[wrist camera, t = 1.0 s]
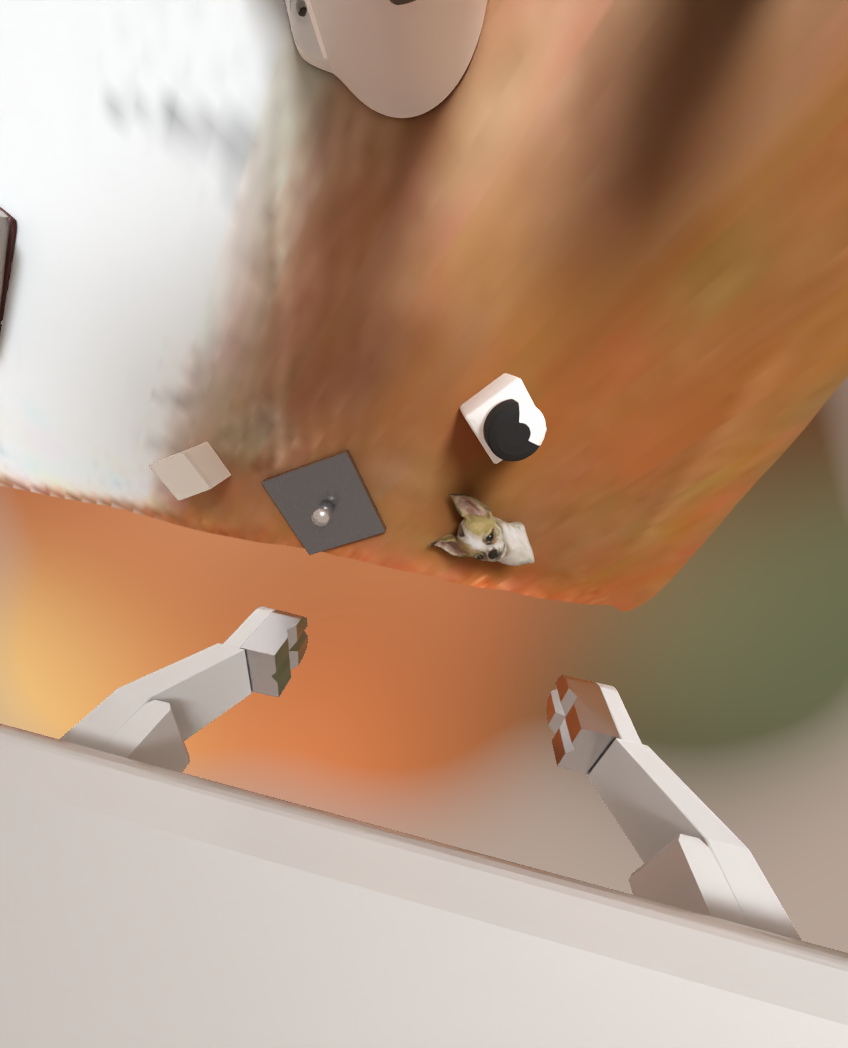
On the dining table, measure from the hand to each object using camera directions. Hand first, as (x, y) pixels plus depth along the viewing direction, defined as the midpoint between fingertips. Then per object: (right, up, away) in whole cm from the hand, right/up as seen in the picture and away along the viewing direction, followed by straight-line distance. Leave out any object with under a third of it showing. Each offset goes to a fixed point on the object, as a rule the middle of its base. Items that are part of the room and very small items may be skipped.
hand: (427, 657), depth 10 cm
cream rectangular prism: (-32, +13, +35) cm, 50 cm away
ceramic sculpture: (+9, +4, +41) cm, 42 cm away
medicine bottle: (+9, +20, +32) cm, 38 cm away
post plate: (-15, +7, +39) cm, 42 cm away
